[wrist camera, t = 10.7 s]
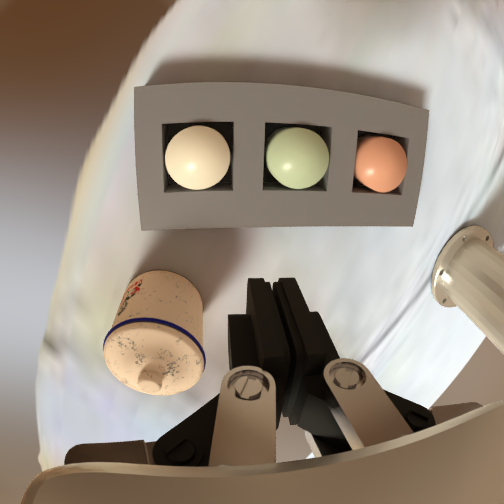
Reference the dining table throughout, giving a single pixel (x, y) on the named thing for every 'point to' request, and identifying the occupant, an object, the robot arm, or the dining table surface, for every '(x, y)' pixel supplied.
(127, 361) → the teacup with lid
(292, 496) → the robot arm
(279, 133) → the sage button
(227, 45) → the dining table surface
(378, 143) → the terracotta button
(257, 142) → the button panel
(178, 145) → the cream button
